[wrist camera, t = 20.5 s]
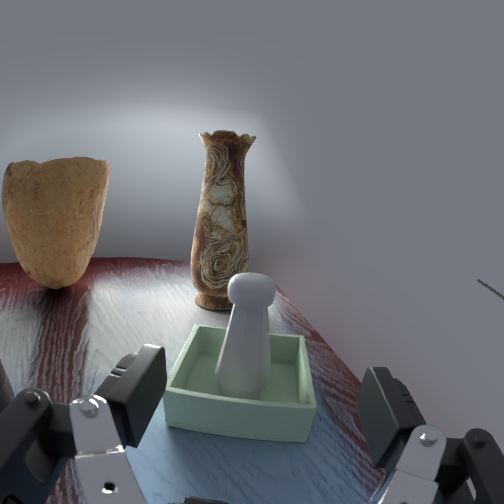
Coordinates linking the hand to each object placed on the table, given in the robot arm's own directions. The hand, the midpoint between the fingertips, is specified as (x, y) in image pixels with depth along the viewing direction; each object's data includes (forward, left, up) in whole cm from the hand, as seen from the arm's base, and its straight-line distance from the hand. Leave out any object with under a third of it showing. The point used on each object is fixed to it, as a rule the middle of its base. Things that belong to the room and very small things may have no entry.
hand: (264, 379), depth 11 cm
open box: (-10, -12, -15) cm, 22 cm away
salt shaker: (-10, -12, -14) cm, 21 cm away
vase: (-23, -35, -15) cm, 45 cm away
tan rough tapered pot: (+4, -53, -15) cm, 55 cm away
